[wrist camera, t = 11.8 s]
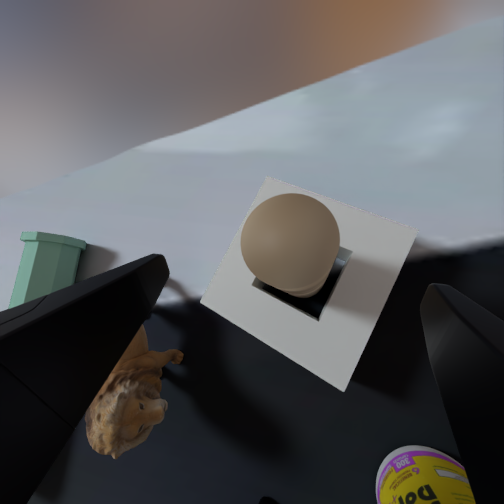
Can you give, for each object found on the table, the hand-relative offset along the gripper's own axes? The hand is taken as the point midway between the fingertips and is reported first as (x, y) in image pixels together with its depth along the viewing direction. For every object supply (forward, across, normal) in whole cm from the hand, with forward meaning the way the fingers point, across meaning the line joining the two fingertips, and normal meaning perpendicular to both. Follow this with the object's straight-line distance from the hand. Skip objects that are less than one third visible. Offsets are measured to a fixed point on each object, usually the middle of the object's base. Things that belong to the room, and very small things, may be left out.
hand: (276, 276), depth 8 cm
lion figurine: (+6, +13, +14) cm, 20 cm away
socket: (+11, 0, +8) cm, 14 cm away
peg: (+11, 0, +8) cm, 14 cm away
